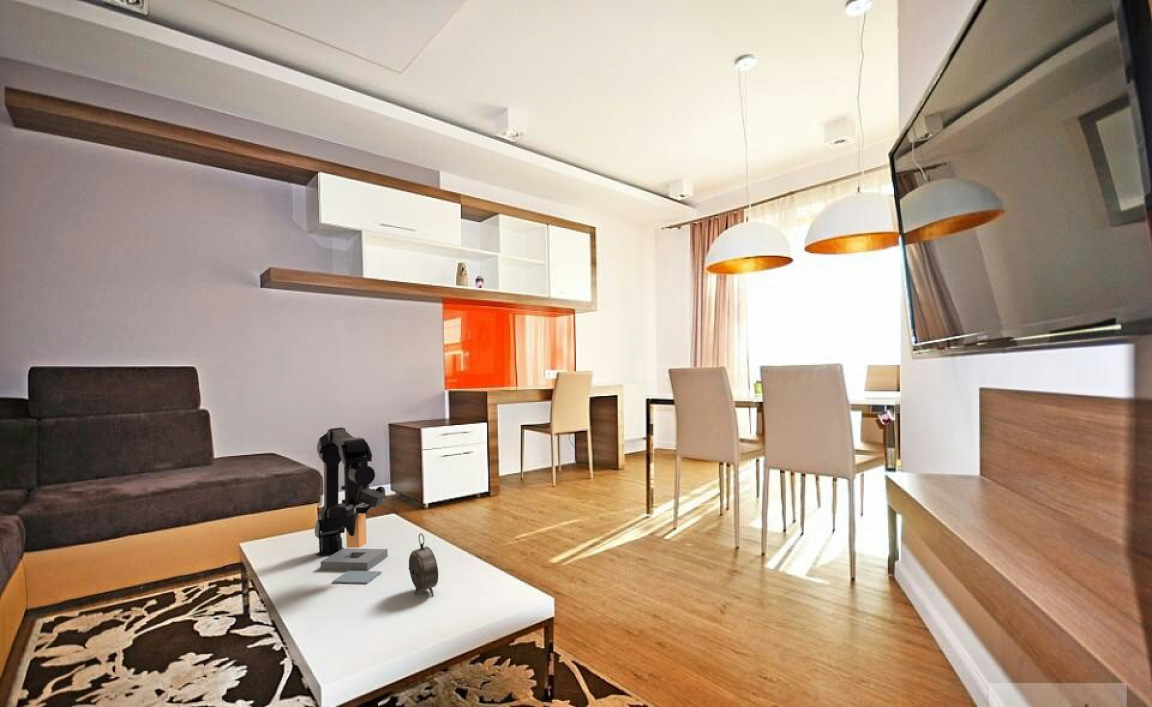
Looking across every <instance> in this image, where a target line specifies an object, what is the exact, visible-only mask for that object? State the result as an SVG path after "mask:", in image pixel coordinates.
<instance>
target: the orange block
mask: <svg viewBox="0 0 1152 707" xmlns="http://www.w3.org/2000/svg"><path fill="white" fill-rule="evenodd" d="M345 532H346V533H345V534H346V535H345V536H346V539H345V540H346V548H352V549H360V547H363V546H365V545H366V544H367V516H366V513H359V514H358V516H357V517H356V518H355V532H354V536H350V535H349V533H348V531H347V530H346V529H345Z"/></svg>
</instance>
